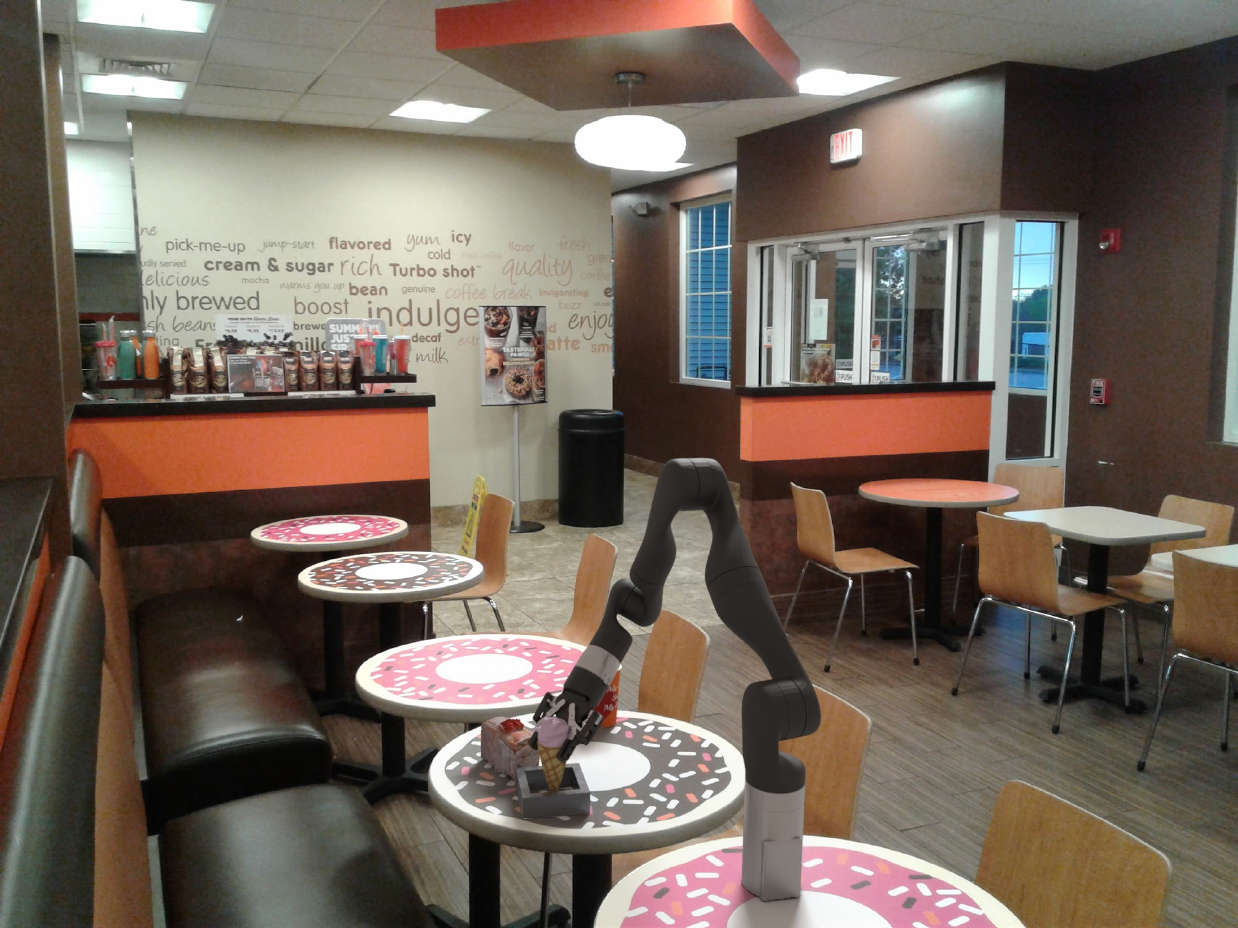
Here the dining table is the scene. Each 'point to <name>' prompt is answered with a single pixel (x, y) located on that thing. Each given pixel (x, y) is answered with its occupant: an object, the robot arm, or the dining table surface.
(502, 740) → the food item
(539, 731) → the ice cream cone
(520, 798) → the hollow square frame
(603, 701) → the paper cup
